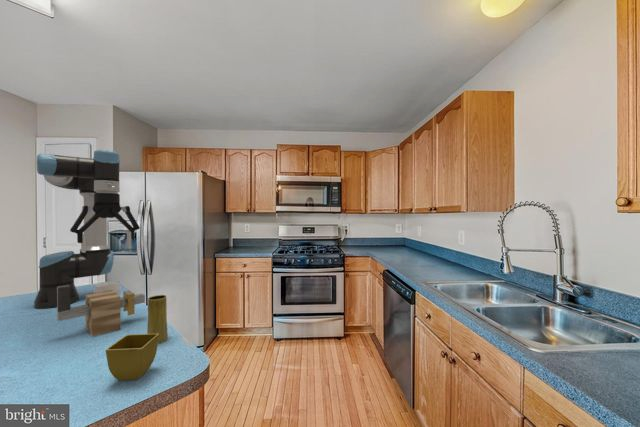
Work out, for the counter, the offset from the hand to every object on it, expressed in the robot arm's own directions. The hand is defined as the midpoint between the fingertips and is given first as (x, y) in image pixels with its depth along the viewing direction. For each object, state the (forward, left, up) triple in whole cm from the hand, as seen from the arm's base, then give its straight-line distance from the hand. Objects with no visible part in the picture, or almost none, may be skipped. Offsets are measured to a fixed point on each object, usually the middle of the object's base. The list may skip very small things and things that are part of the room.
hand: (107, 250), depth 102 cm
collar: (0, +6, -25) cm, 26 cm away
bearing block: (0, -2, -28) cm, 28 cm away
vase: (+25, +8, -29) cm, 39 cm away
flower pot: (+42, -3, -29) cm, 51 cm away
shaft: (0, -1, -22) cm, 22 cm away
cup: (-19, +3, -29) cm, 34 cm away
